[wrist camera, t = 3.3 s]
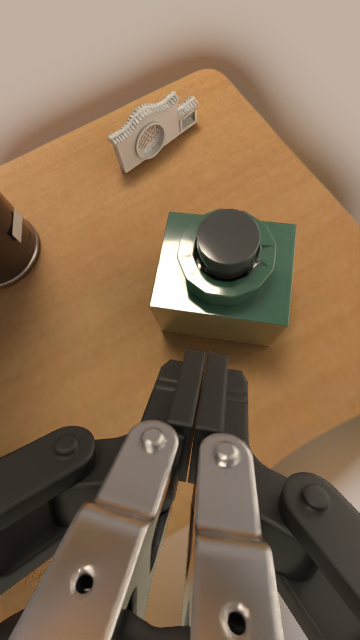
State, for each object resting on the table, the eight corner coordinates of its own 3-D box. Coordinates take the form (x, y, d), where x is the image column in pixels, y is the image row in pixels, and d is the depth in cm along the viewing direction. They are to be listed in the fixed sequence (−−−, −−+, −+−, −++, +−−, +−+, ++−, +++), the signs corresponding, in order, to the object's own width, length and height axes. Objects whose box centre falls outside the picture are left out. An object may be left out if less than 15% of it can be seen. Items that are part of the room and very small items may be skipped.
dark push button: (193, 276, 24) (191, 260, 21) (201, 225, 25) (201, 205, 23) (251, 283, 23) (257, 268, 21) (257, 231, 25) (263, 211, 22)
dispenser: (161, 330, 33) (143, 296, 23) (176, 253, 35) (165, 193, 26) (269, 346, 31) (296, 317, 22) (277, 265, 34) (305, 207, 24)
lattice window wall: (191, 116, 41) (188, 68, 35) (200, 124, 40) (199, 76, 35) (117, 169, 39) (102, 127, 34) (126, 177, 39) (112, 137, 33)
